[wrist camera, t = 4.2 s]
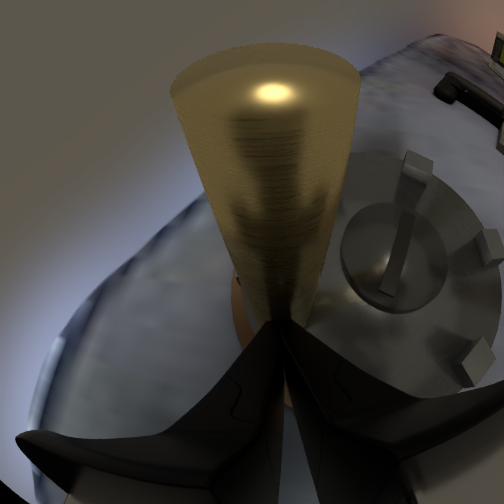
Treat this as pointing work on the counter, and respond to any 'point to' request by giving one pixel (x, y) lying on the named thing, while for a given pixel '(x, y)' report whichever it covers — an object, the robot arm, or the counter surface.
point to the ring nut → (339, 220)
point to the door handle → (473, 101)
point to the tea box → (498, 56)
